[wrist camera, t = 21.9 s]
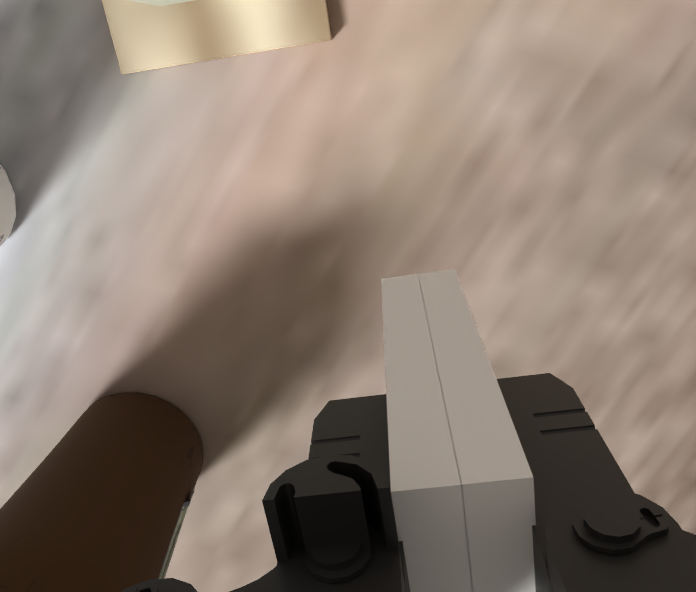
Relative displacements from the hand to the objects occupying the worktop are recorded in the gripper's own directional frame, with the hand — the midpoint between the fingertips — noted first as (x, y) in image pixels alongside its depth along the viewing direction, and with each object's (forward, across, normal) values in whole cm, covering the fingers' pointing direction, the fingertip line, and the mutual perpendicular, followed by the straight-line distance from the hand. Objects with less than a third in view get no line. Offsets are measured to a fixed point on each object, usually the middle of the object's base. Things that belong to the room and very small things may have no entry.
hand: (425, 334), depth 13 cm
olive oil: (+27, -21, -19) cm, 39 cm away
